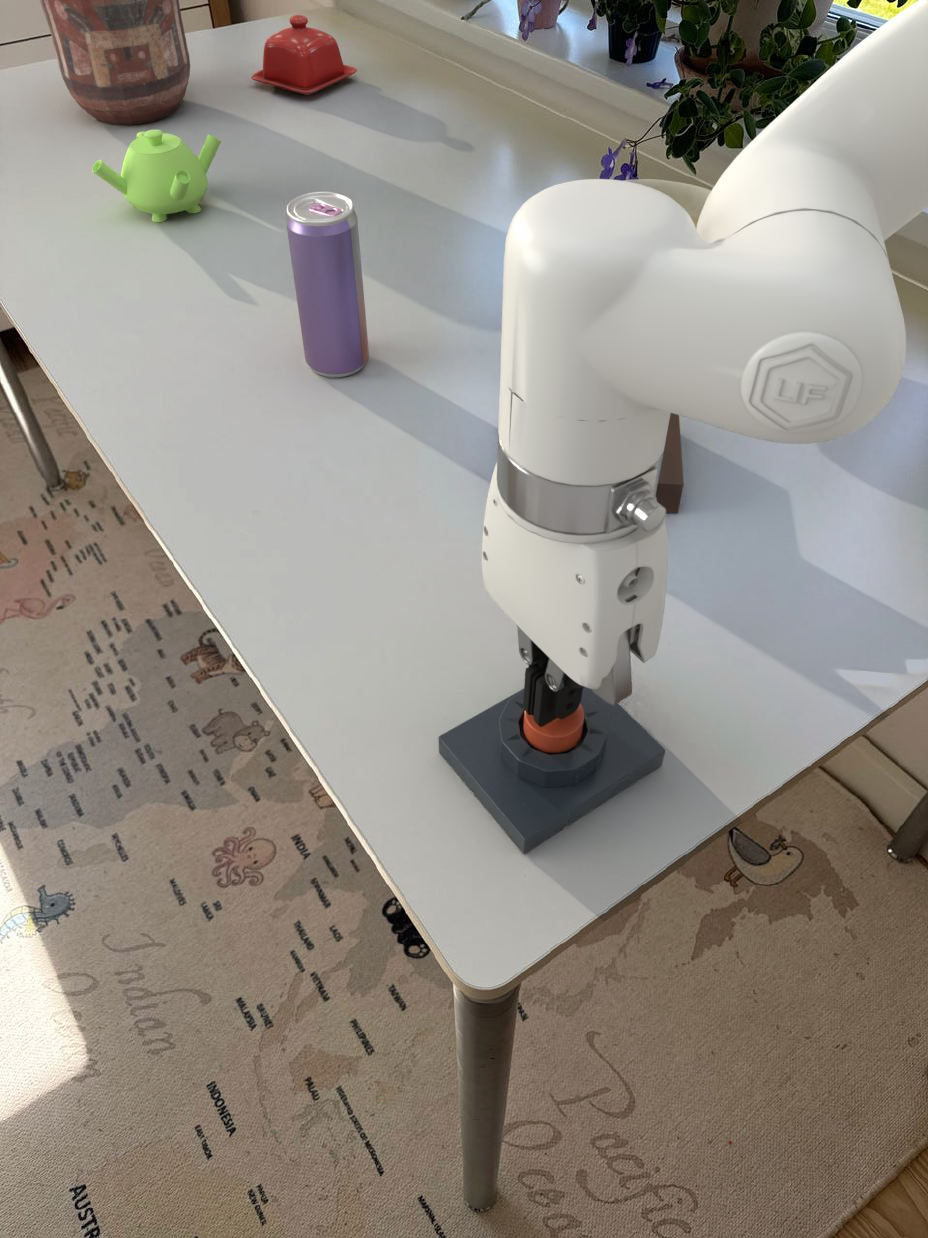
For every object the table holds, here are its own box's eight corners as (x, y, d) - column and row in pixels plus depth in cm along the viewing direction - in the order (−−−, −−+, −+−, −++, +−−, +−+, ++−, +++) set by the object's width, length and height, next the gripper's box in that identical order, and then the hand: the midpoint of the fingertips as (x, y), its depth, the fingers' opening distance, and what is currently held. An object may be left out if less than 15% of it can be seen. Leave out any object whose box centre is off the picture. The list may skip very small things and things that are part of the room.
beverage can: (344, 387, 92) (326, 229, 81) (293, 367, 94) (269, 211, 83) (382, 356, 95) (370, 200, 84) (331, 338, 97) (313, 184, 86)
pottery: (228, 104, 137) (202, -50, 124) (121, 145, 128) (81, -16, 115) (149, 73, 145) (117, -74, 132) (43, 110, 136) (-3, -45, 123)
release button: (557, 697, 63) (559, 680, 62) (594, 735, 61) (596, 718, 60) (511, 724, 62) (512, 706, 61) (547, 763, 60) (549, 746, 59)
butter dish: (301, 62, 148) (294, -4, 142) (362, 78, 143) (357, 11, 137) (247, 86, 141) (237, 19, 135) (309, 104, 137) (301, 35, 131)
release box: (572, 675, 69) (576, 641, 66) (662, 765, 64) (670, 732, 61) (438, 752, 64) (437, 719, 62) (523, 855, 59) (526, 823, 57)
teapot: (146, 181, 121) (129, 107, 115) (235, 190, 119) (222, 116, 113) (103, 224, 114) (82, 147, 107) (197, 234, 112) (181, 157, 106)
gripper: (752, 524, 44) (684, 763, 57) (542, 365, 52) (525, 607, 66) (622, 594, 41) (582, 829, 55) (421, 414, 49) (430, 657, 63)
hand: (551, 707), depth 60 cm, fingers closed
